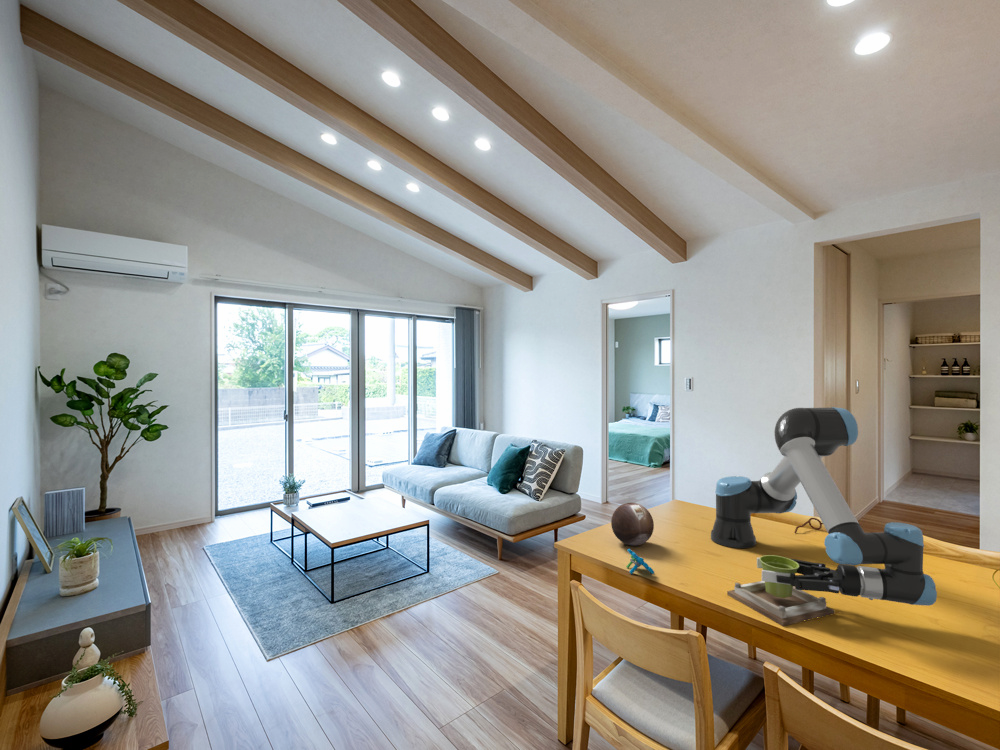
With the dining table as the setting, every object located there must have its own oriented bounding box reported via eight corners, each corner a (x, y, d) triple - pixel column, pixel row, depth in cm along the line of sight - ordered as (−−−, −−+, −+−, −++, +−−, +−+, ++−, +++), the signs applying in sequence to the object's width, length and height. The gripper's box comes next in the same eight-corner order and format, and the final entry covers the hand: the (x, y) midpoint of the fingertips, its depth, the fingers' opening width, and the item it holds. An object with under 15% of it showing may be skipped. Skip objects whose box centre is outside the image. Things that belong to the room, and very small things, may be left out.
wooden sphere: (632, 555, 168) (632, 511, 168) (602, 541, 181) (602, 501, 181) (662, 546, 176) (662, 505, 176) (631, 534, 189) (632, 496, 189)
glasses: (846, 537, 186) (846, 524, 186) (830, 544, 179) (830, 531, 179) (809, 528, 197) (809, 516, 197) (793, 534, 190) (793, 521, 190)
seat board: (775, 585, 145) (775, 573, 144) (834, 613, 128) (834, 600, 128) (727, 594, 139) (727, 582, 139) (782, 626, 122) (783, 611, 122)
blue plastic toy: (660, 574, 148) (636, 551, 149) (648, 589, 148) (624, 565, 148) (646, 564, 159) (624, 543, 160) (635, 578, 159) (612, 556, 159)
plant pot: (794, 588, 136) (794, 557, 136) (803, 603, 127) (803, 570, 127) (756, 583, 139) (756, 553, 139) (762, 598, 130) (762, 566, 130)
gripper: (872, 614, 117) (765, 599, 125) (844, 579, 137) (754, 567, 145) (872, 583, 117) (765, 570, 125) (845, 552, 136) (754, 542, 144)
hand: (759, 568), depth 135 cm, fingers closed on plant pot, 8 cm apart
